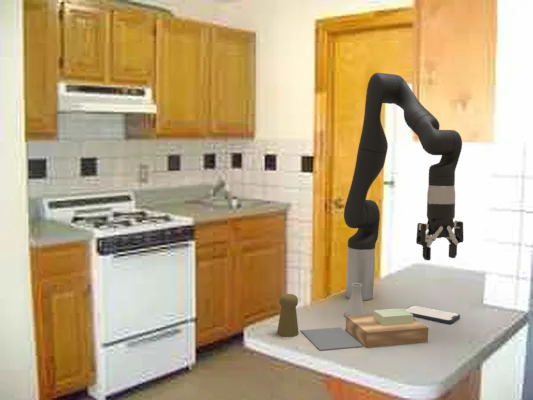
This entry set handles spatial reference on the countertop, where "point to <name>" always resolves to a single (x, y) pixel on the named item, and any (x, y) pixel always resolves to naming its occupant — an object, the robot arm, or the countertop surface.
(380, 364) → the countertop surface
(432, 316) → the phone case
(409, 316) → the block
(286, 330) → the pepper mill
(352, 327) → the board
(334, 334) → the mat
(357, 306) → the flask
